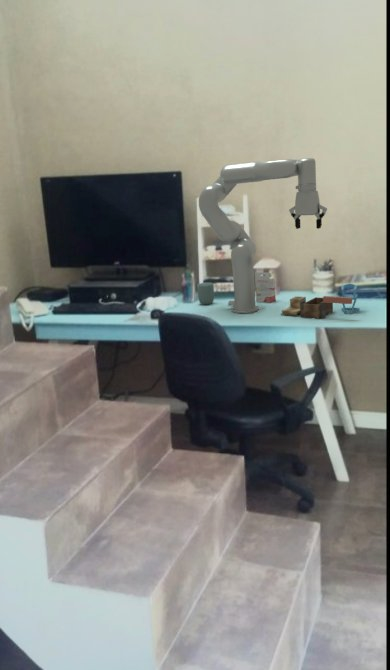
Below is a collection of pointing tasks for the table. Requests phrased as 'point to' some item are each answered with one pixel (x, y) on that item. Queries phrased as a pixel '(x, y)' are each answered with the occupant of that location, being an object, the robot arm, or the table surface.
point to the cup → (205, 293)
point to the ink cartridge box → (264, 287)
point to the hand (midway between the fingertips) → (308, 228)
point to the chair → (354, 296)
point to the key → (337, 300)
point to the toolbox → (315, 308)
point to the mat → (291, 315)
